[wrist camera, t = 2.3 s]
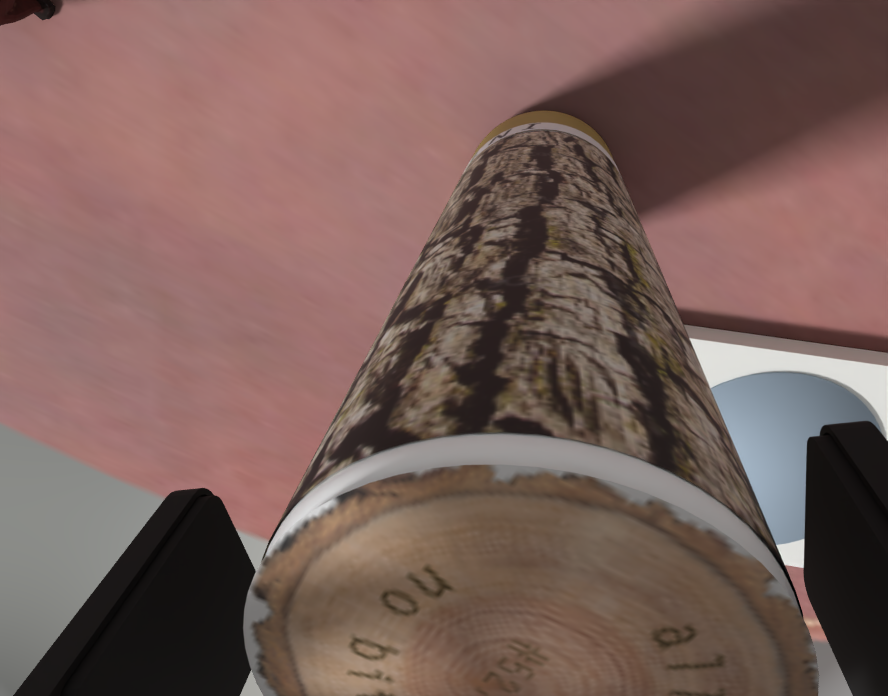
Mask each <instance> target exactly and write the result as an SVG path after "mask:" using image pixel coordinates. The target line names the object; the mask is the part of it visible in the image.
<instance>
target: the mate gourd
mask: <svg viewBox="0 0 888 696" xmlns="http://www.w3.org/2000/svg"><path fill="white" fill-rule="evenodd" d="M54 11H55V6H54V5H53V4H52V3H51V1H50V0H0V25H3V24H8V23H13V22H16V21H19V20H21V19H24V18H26V17H27V16H29V15H31V14H33V13H34V14H35V15H37V16H38V17H39V18H40V19H42V20H45V19H50V18H51V17H52V15H53V13H54Z"/></svg>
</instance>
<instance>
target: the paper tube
mask: <svg viewBox="0 0 888 696" xmlns="http://www.w3.org/2000/svg"><path fill="white" fill-rule="evenodd" d="M619 173H620V172H619V170H618V168H617V166H616V164H615V162H614V159H613V157H612V155H611V153H610V150H609V148H608V147H607V145H606V144H605V142H604V141H603V139H602V138H601V137H600V136H599V134H598V133H597V132H596V131H595V130H594V129H592V128H591V127H590V126H589V125H587V124H586V123H584V122H583V121H581V120H580V119H577V118H575V117H573V116H571V115H568V114H565V113H560V112H555V111H533V112H528V113H523V114H520V115H517V116H514V117H512V118H510V119H508V120H506V121H505V122H503V123H501V124H500V125H498V126H497V127H496V128H494V129H493V130H492V131H491V132H490V133H489V134H488V135H487V136H486V137H485V138H484V139H483V141H482V142H481V143H480V145H479V146H478V148H477V149H476V151H475V153H474V155H473V157H472V159H471V160H470V162H469V163H468V165H467V167H466V169H465V172H463V174H462V176H461V178H460V180H459V182H458V184H457V186H456V188H455V190H454V191H453V193H452V195H451V197H450V199H449V201H448V203H447V205H446V207H445V209H444V210H443V212H442V214H441V216H440V218H439V220H438V222H437V224H436V226H435V227H434V229H433V231H432V233H431V235H430V237H429V239H428V241H427V243H426V245H425V246H424V248H423V250H422V252H421V254H420V256H419V258H418V260H417V262H416V264H415V265H414V267H413V269H412V271H411V273H410V275H409V277H408V279H407V281H406V282H405V284H404V286H403V288H402V290H401V292H400V294H399V296H398V298H397V300H396V301H395V303H394V305H393V307H392V309H391V311H390V313H389V315H388V317H387V319H386V320H385V322H384V324H383V326H382V328H381V330H380V332H379V334H378V336H377V338H376V339H375V341H374V343H373V345H372V347H371V349H370V351H369V353H368V355H367V356H366V358H365V360H364V362H363V364H362V366H361V368H360V370H359V372H358V374H357V375H356V377H355V379H354V381H353V383H352V385H351V387H350V389H349V391H348V393H347V394H346V396H345V398H344V400H343V402H342V404H341V406H340V408H339V410H338V411H337V413H336V415H335V417H334V419H333V421H332V423H331V425H330V427H329V429H328V430H327V432H326V434H325V436H324V438H323V440H322V442H321V444H320V446H319V448H318V449H317V451H316V453H315V455H314V457H313V459H312V461H311V463H310V465H309V466H308V468H307V470H306V472H305V474H304V476H303V478H302V480H301V482H300V484H299V485H298V487H297V489H296V491H295V493H294V495H293V497H292V499H291V501H290V503H289V504H288V506H287V508H286V510H285V512H284V514H283V516H282V518H281V520H280V522H279V523H278V525H277V527H276V529H275V531H274V533H273V535H272V537H271V539H270V540H269V543H268V545H267V548H266V551H265V553H264V556H263V559H262V562H261V564H260V566H259V568H258V569H257V571H256V573H255V575H254V577H253V580H252V583H251V585H250V588H249V590H248V594H247V599H246V604H245V609H244V624H243V631H244V641H245V649H246V653H247V656H248V660H249V664H250V667H251V670H252V672H253V675H254V677H255V679H256V682H257V684H258V686H259V688H260V690H261V692H262V693H263V695H264V696H818V682H819V672H818V665H817V659H816V651H815V648H814V645H813V642H812V639H811V636H810V633H809V630H808V628H807V626H806V624H805V622H804V620H803V613H802V609H801V606H800V603H799V600H798V597H797V594H796V591H795V588H794V586H793V584H792V581H791V579H790V576H789V574H788V572H787V569H786V567H785V565H784V562H783V560H782V557H781V555H780V553H779V550H778V548H777V546H776V543H775V541H774V538H773V536H772V534H771V531H770V529H769V527H768V524H767V522H766V519H765V517H764V515H763V512H762V510H761V507H760V505H759V503H758V500H757V498H756V496H755V493H754V491H753V488H752V486H751V484H750V481H749V479H748V477H747V474H746V472H745V469H744V467H743V465H742V462H741V460H740V458H739V455H738V453H737V450H736V448H735V446H734V443H733V441H732V438H731V436H730V434H729V431H728V429H727V427H726V424H725V422H724V419H723V417H722V415H721V412H720V410H719V408H718V405H717V403H716V400H715V398H714V396H713V393H712V391H711V389H710V386H709V384H708V381H707V379H706V377H705V374H704V372H703V369H702V367H701V365H700V362H699V360H698V358H697V355H696V353H695V350H694V348H693V346H692V343H691V341H690V339H689V336H688V334H687V331H686V329H685V327H684V324H683V322H682V320H681V317H680V315H679V312H678V310H677V308H676V305H675V303H674V300H673V298H672V296H671V293H670V291H669V289H668V286H667V284H666V281H665V279H664V277H663V274H662V272H661V270H660V267H659V265H658V262H657V260H656V258H655V255H654V253H653V251H652V248H651V246H650V243H649V241H648V239H647V236H646V234H645V232H644V229H643V227H642V224H641V222H640V220H639V217H638V215H637V212H636V210H635V208H634V205H633V203H632V201H631V198H630V196H629V193H628V191H627V189H626V186H625V184H624V182H623V179H622V177H621V176H620V175H621V174H619Z"/></svg>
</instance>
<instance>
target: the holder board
mask: <svg viewBox="0 0 888 696" xmlns="http://www.w3.org/2000/svg"><path fill="white" fill-rule="evenodd" d="M684 327H685V329H686V331H687V334H688V336H689V339H690V341H691V343H692V346H693V348H694V350H695V353H696V355H697V358H698V360H699V362H700V365H701V367H702V369H703V372H704V374H705V377H706V379H707V381H708V384H709V386H710V389H711V391H712V393H713V396H714V398H715V400H716V403H717V405H718V408H719V410H720V412H721V415H722V417H723V419H724V422H725V424H726V427H727V429H728V431H729V434H730V436H731V438H732V441H733V443H734V446H735V448H736V450H737V453H738V455H739V458H740V460H741V462H742V465H743V467H744V469H745V472H746V474H747V477H748V479H749V481H750V484H751V486H752V488H753V491H754V493H755V496H756V498H757V500H758V503H759V505H760V507H761V510H762V512H763V515H764V517H765V519H766V522H767V524H768V527H769V529H770V531H771V534H772V536H773V538H774V541H775V543H776V546H777V548H778V550H779V553H780V555H781V557H782V560H783V562H784V565H789V566H795V567H801V568H804V534H805V494H806V453H807V440H808V438H809V437H813V436H820V430H821V428H822V426H824V425H828V424H838V423H848V422H858V421H870V422H872V423H873V424H874V425H875V426H876V427H877V428H878V430H879V431H880V432H881V433H882V435H883V436H884V437H885V438H886V439H887V441H888V353H884V352H877V351H870V350H863V349H856V348H848V347H841V346H834V345H827V344H820V343H813V342H805V341H798V340H791V339H784V338H777V337H769V336H762V335H755V334H748V333H741V332H733V331H726V330H719V329H712V328H705V327H698V326H690V325H684Z"/></svg>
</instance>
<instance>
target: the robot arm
mask: <svg viewBox="0 0 888 696" xmlns="http://www.w3.org/2000/svg"><path fill="white" fill-rule="evenodd" d="M255 573H256V571H255V569H254V567H253V565H252V562H251V560H250V559H249V556H248V554H247V552H246V550H245V548H244V546H243V544H242V541H241V539H240V537H239V535H238V533H237V531H236V529H235V527H234V525H233V523H232V521H231V518H230V516H229V514H228V512H227V510H226V508H225V506H224V504H223V502H222V500H221V499H220V498H219V497H218V496H214V495H213V493H212V492H211V491H210V490H208V489H205V488H199V489H189V490H179V491H174V492H171V493H170V494H169V495H168V496H167V497H166V498H165V500H164V501H163V502H162V504H161V505H160V506H159V508H158V509H157V510H156V512H155V513H154V514H153V515H152V517H151V518H150V519H149V520H148V522H147V523H146V524H145V526H144V527H143V528H142V530H141V531H140V532H139V534H138V535H137V536H136V537H135V539H134V540H133V541H132V543H131V544H130V545H129V546H128V548H127V549H126V550H125V552H124V553H123V554H122V555H121V557H120V558H119V559H118V561H117V562H116V563H115V565H114V566H113V567H112V569H111V570H110V571H109V572H108V574H107V575H106V576H105V578H104V579H103V580H102V581H101V583H100V584H99V585H98V587H97V588H96V589H95V590H94V592H93V593H92V594H91V596H90V597H89V598H88V599H87V601H86V602H85V603H84V605H83V606H82V607H81V609H80V610H79V611H78V613H77V614H76V615H75V616H74V618H73V619H72V620H71V621H70V623H69V624H68V625H67V627H66V628H65V629H64V631H63V632H62V633H61V634H60V636H59V637H58V638H57V640H56V641H55V642H54V643H53V645H52V646H51V647H50V649H49V650H48V651H47V653H46V654H45V655H44V656H43V658H42V659H41V660H40V662H39V663H38V664H37V666H36V667H35V668H34V669H33V671H32V672H31V673H30V675H29V676H28V677H27V678H26V680H25V681H24V682H23V684H22V685H21V686H20V688H19V689H18V690H17V692H16V693H15V694H14V695H13V696H240V694H241V692H242V689H243V687H244V684H245V683H246V680H247V678H248V675H249V673H250V671H251V667H250V664H249V660H248V656H247V653H246V649H245V641H244V631H243V624H244V609H245V604H246V599H247V594H248V590H249V588H250V585H251V583H252V580H253V577H254V575H255ZM804 582H805V587H806V591H807V594H808V597H809V600H810V602H811V605H812V607H813V609H814V611H815V613H816V616H817V618H818V620H819V622H820V624H821V627H822V629H823V631H824V633H825V635H826V637H827V640H828V642H829V644H830V646H831V648H832V651H833V653H834V655H835V657H836V659H837V662H838V664H839V666H840V668H841V670H842V673H843V675H844V677H845V679H846V681H847V684H848V686H849V688H850V690H851V692H852V694H853V696H888V441H887V439H886V438H885V437H884V436H883V435H882V433H881V432H880V431H879V430H878V428H877V427H876V426H875V425H874V424H873V423H872V422H870V421H858V422H848V423H838V424H828V425H824V426H822V428H821V430H820V436H813V437H809V438H808V440H807V453H806V494H805V534H804Z"/></svg>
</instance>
